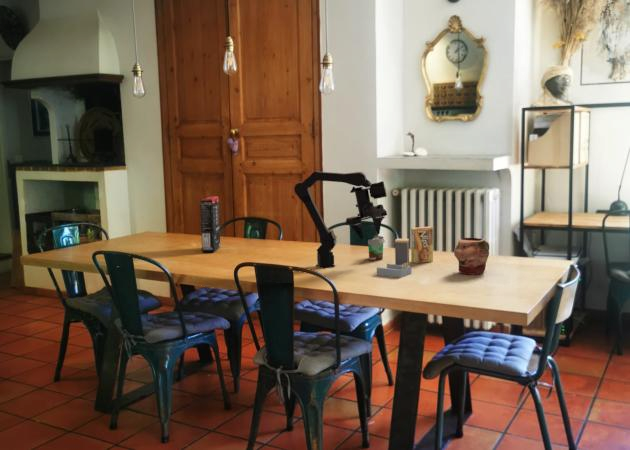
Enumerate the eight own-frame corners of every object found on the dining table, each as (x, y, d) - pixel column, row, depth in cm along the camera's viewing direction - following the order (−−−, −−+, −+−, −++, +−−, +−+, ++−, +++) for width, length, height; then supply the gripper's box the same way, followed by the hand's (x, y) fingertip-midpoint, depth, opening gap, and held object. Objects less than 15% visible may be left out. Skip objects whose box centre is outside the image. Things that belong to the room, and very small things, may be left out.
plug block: (395, 269, 279) (394, 240, 277) (397, 267, 284) (397, 238, 282) (407, 269, 278) (406, 240, 276) (409, 267, 282) (408, 238, 280)
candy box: (429, 260, 296) (429, 226, 294) (433, 261, 292) (433, 227, 290) (411, 261, 294) (410, 227, 292) (414, 263, 290) (414, 228, 288)
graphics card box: (208, 247, 350) (205, 196, 346) (221, 247, 350) (218, 195, 346) (201, 253, 333) (198, 199, 329) (215, 253, 333) (212, 199, 329)
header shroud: (377, 275, 270) (376, 263, 269) (388, 270, 277) (387, 259, 276) (400, 277, 263) (400, 265, 263) (411, 273, 271) (411, 261, 270)
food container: (381, 262, 295) (381, 240, 294) (368, 261, 297) (367, 239, 296) (387, 257, 307) (387, 235, 305) (374, 256, 309) (374, 235, 307)
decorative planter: (473, 266, 281) (473, 233, 279) (499, 269, 272) (499, 236, 270) (446, 274, 267) (446, 240, 265) (473, 278, 258) (473, 243, 256)
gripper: (357, 205, 272) (364, 241, 274) (391, 195, 282) (398, 231, 284) (342, 206, 281) (349, 241, 283) (375, 197, 291) (382, 231, 293)
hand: (370, 236), depth 286 cm, fingers open, 9 cm apart
